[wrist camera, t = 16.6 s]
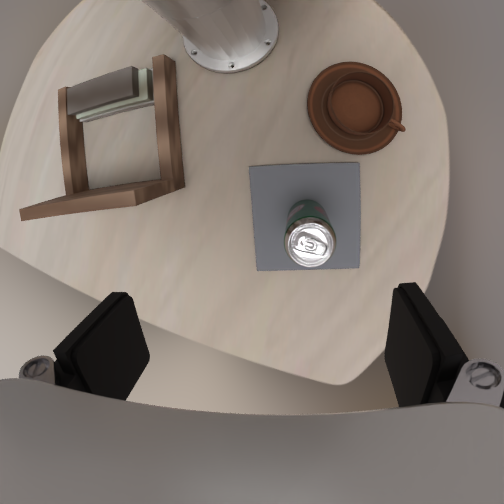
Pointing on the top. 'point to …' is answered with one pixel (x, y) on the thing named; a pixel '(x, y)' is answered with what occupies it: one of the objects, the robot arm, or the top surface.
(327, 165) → the mat
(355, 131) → the cup and saucer
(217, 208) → the top surface
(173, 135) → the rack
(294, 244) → the soda can
